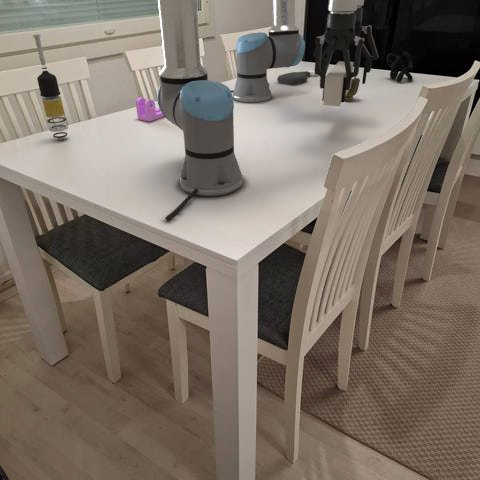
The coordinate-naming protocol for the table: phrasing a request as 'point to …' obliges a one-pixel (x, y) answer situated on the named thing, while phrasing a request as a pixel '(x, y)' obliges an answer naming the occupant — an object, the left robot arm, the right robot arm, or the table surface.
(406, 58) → the squiggle
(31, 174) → the table surface
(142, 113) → the bracket
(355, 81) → the cup
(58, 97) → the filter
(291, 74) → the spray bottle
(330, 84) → the bar
